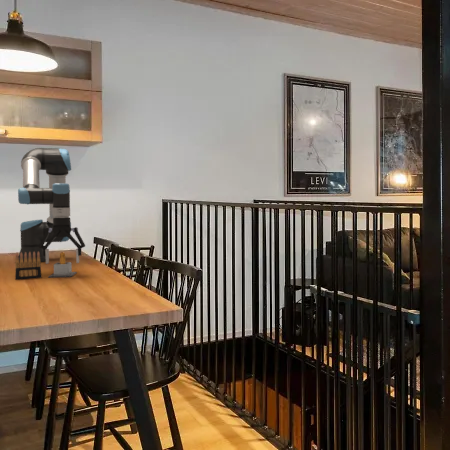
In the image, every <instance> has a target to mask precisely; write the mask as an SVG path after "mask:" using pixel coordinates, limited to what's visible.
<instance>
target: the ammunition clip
mask: <svg viewBox="0 0 450 450" xmlns="http://www.w3.org/2000/svg"><path fill="white" fill-rule="evenodd" d="M18 253H20V252H16V254H15V262H14V263H15V265H14V266H15V269H14V270H15V272H14V273H15V275H14V277H15V278H14V279H15V280H16V281H18V280H19V281H20V280H30V279H31V280H32V279H42V278H43V277H42V268H41V267H42V265H41V263H42V262H41V261H40V253H39V251H38V253H37V266H36V255H35V252H33V261H32V258H31V253H30V252H29V258H28V260H27V253H26V252H25V254H24V262H23V254H22V252H21V253H20V263H19V254H18ZM32 266H33V267H32ZM32 270H33V275H32Z"/></svg>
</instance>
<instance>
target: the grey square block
mask: <svg viewBox="0 0 450 450" xmlns="http://www.w3.org/2000/svg"><path fill="white" fill-rule="evenodd" d="M72 272H73V271H72V262H71V261H69V262H68V261H67V262H66V261H65V264H60V261H58V262H55V263H54V264H53V273H54V275H69V274H71V273H72Z"/></svg>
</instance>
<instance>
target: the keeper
mask: <svg viewBox="0 0 450 450" xmlns="http://www.w3.org/2000/svg"><path fill="white" fill-rule="evenodd" d="M59 262H60V264H65V262H66V252H64V251H61V252H60V253H59ZM77 273H78V272H77V271H72V273H71V274H69V275H54V272H53V273H52V274H50V275H48V277H47V278H49V279H52V278H53V279H54V278H57V279H58V278H72V277H73V276H75V275H76V274H77Z"/></svg>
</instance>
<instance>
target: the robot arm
mask: <svg viewBox="0 0 450 450" xmlns="http://www.w3.org/2000/svg"><path fill="white" fill-rule="evenodd" d="M20 167H21V169H22V187H20V188H18V190H17V194H18V195H17V196H18V197H17V198H18V203H19V204H20V205H49V208H48V209H49V210H48V211H49V216H48V217H47V218H46V221H44V220H43V219H34V220H26V221H23V222H21V223H20V228H19V229H20V230H19V232H20V250H19V252H18V253H19V254H18V256H19V264H20V253H21V252H22V254H23V262H24V254H25V252H26V253H27V260H28V258H29V252H30V253H31V258H32V261H33V252H35V255H36V263H37V253H38V251H39V253H40V261H41V263H44V262H45V264H46V265H48V264H49V263H50V249H49V246H50V245H51V244H52V243H63V242H68V241H69V240H70V241H71V242H72V243H73V245H74V246H75V247H76V249H75V255H76V258H75V259H76V260H75V261H76V264H79V263H80V256H82V249H83V248H85V247H86V244H85V242H84V240H83V238H82V236H81V235H80V233H79V228H78V227H72V222H71V218H70V217H71V199H70V198H71V194H70V192H71V189H70V184H69V183H66V178H67V176H68V175H69V171H71V170H72V164H71V158H70V152H69V150H68V149H66V148H56V147H55V148H53V147H51V148H50V147H49V148H48V147H47V148H44V147H37V148H32V149H31V150H28V152H26V153H25V154H24V155H23V157H22V158H21V161H20ZM41 170H42V171H45V174H46V175H47V176H48V187H41V185H40V171H41ZM72 232H73V233H74V235H75V237H76V238H77V240H76V239H75V238H74V236H73V235H72V234H71V233H72Z"/></svg>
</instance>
